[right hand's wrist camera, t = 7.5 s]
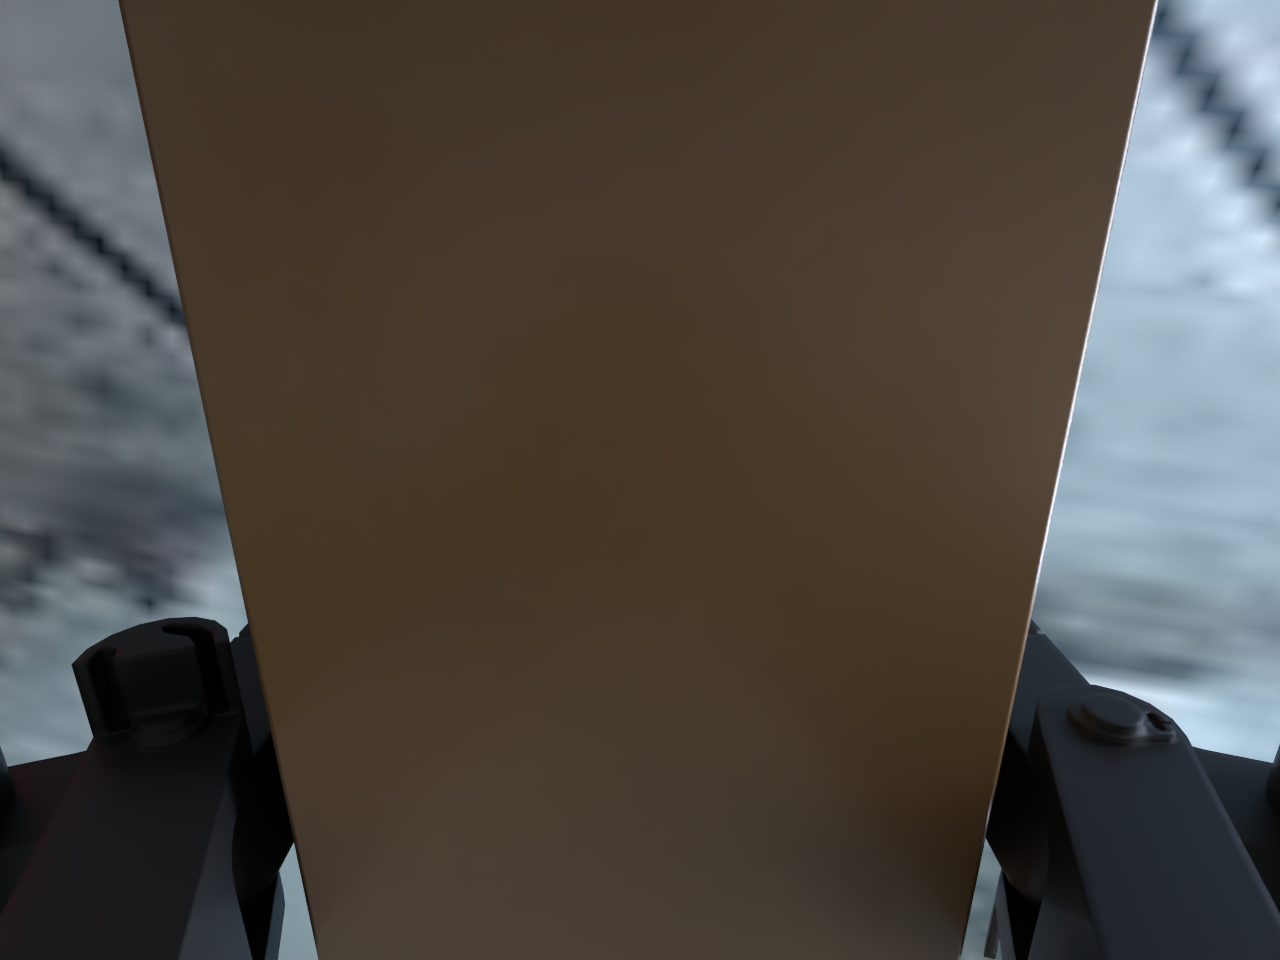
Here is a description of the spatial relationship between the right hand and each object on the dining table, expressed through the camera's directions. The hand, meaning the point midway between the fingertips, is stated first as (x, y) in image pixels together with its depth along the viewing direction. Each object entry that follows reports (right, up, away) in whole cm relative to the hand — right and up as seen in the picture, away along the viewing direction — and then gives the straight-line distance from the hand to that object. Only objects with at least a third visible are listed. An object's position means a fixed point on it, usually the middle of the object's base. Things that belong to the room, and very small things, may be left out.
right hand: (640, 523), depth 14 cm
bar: (0, +8, -2) cm, 8 cm away
